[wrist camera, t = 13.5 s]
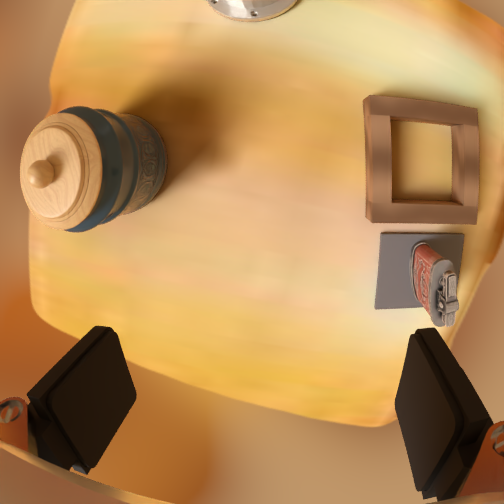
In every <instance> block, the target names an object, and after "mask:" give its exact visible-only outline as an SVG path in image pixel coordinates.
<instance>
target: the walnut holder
mask: <svg viewBox="0 0 504 504" xmlns="http://www.w3.org/2000/svg"><path fill="white" fill-rule="evenodd" d="M363 109H364V126H365V152H366V218H367V219H368V220H370V221H371V222H372V223H428V224H472V225H476V224H477V212H478V197H479V128H478V113H477V109H475V108H470V107H465V106H459V105H453V104H447V103H440V102H434V101H426V100H418V99H409V98H400V97H389V96H375V95H369V96H368V97H366V98H365V99H364V100H363ZM390 120H400V121H411V122H421V123H430V124H439V125H447V126H451V132H452V197H451V201H433V200H405V199H392V150H391V124H390Z"/></svg>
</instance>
